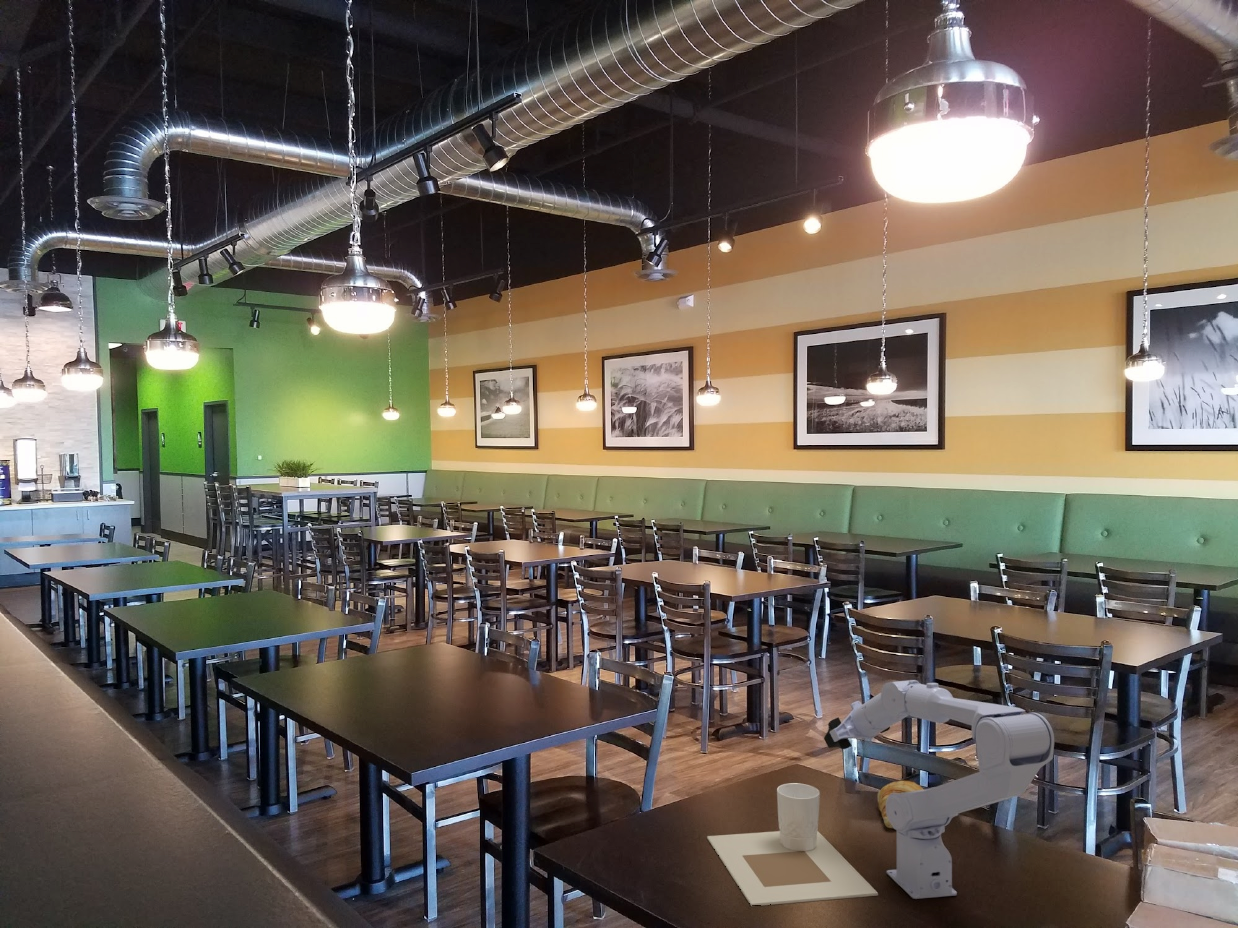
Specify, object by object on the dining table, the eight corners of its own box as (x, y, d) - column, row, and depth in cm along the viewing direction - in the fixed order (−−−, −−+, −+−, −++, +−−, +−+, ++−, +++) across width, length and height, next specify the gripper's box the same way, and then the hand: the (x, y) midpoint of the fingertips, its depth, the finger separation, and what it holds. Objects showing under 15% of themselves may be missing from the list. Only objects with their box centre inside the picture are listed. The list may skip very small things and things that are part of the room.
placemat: (877, 895, 141) (877, 892, 141) (751, 906, 137) (751, 903, 137) (815, 830, 167) (815, 828, 167) (707, 838, 163) (707, 836, 163)
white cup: (820, 854, 155) (820, 799, 155) (776, 850, 157) (776, 796, 157) (818, 836, 163) (819, 784, 163) (777, 833, 164) (777, 781, 164)
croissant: (903, 853, 165) (923, 821, 163) (858, 819, 169) (876, 788, 167) (928, 814, 183) (946, 785, 180) (886, 784, 187) (903, 755, 185)
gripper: (895, 682, 161) (859, 705, 172) (837, 705, 155) (803, 728, 166) (915, 717, 158) (877, 738, 169) (856, 742, 152) (821, 763, 163)
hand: (842, 735), depth 167 cm, fingers open, 7 cm apart
